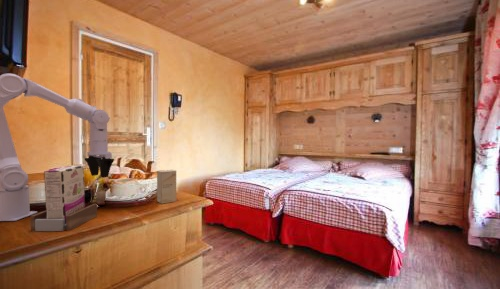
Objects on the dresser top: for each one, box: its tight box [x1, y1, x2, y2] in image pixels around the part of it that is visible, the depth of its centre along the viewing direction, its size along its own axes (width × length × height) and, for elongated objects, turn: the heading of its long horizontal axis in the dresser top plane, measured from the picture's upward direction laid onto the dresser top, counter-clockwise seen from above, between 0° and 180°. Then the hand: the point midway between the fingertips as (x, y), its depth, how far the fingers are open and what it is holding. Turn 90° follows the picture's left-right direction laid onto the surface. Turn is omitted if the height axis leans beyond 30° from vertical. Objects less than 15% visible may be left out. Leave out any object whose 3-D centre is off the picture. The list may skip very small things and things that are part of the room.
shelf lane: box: [30, 203, 98, 232], centre depth 72 cm, size 11×12×4 cm
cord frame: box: [35, 190, 107, 232], centre depth 77 cm, size 7×25×5 cm, turn 1°
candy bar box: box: [43, 164, 86, 224], centre depth 72 cm, size 11×5×16 cm, turn 9°
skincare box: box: [156, 169, 177, 204], centre depth 94 cm, size 6×4×12 cm
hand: (99, 176), depth 94 cm, fingers open, 7 cm apart
